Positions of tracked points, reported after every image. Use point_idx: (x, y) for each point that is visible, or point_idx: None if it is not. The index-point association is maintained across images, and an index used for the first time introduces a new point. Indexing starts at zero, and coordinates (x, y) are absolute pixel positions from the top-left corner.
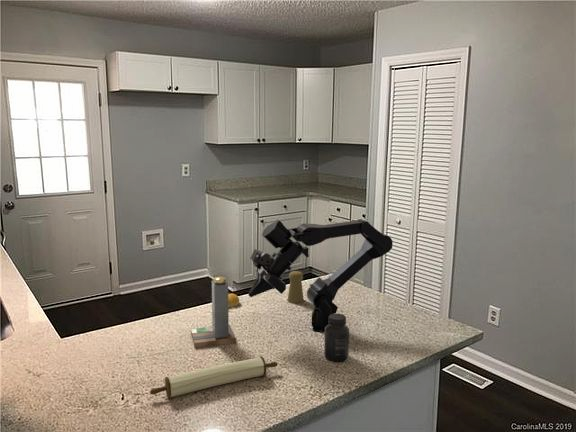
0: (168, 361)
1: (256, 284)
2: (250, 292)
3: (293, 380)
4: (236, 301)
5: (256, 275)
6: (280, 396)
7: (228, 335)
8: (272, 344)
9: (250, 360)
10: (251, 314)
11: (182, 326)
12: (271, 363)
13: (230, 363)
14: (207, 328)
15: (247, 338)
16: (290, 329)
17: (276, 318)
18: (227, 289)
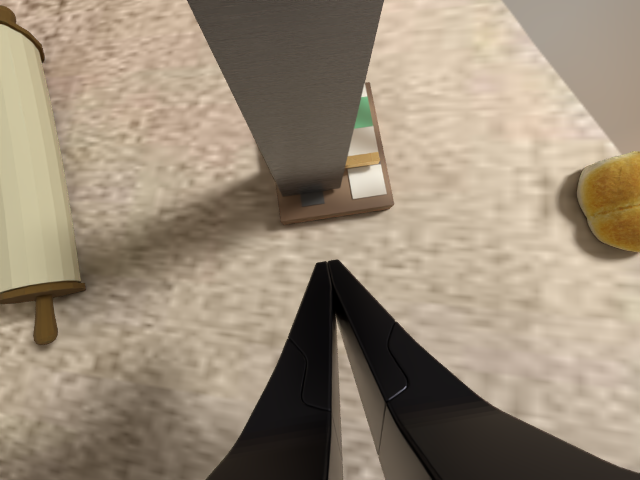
0: (200, 49)
1: (306, 361)
2: (317, 276)
3: (13, 380)
4: (620, 238)
5: (529, 425)
6: None
7: (282, 195)
8: (254, 345)
9: (1, 251)
10: (514, 293)
11: (420, 68)
12: (36, 325)
13: (6, 185)
14: (364, 131)
15: (310, 264)
16: (367, 432)
17: (473, 389)
18: (201, 21)
